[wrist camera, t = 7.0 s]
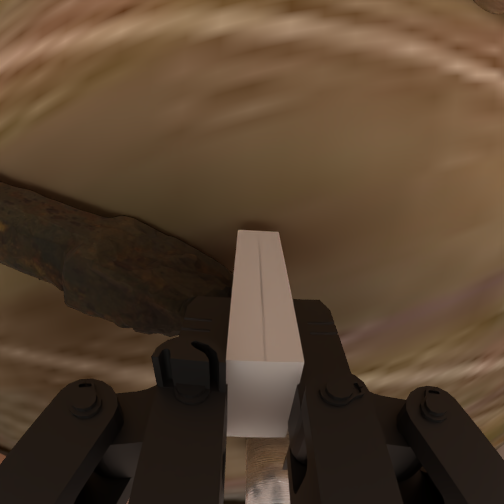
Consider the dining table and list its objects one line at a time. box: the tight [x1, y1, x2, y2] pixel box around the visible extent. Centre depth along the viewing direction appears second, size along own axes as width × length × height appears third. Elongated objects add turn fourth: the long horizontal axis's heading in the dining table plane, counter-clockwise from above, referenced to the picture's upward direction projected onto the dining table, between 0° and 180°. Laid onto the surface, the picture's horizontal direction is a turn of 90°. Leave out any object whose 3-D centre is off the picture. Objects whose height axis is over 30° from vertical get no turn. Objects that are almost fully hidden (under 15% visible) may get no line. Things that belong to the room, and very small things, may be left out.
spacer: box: [246, 430, 290, 504], centre depth 17 cm, size 4×4×7 cm
